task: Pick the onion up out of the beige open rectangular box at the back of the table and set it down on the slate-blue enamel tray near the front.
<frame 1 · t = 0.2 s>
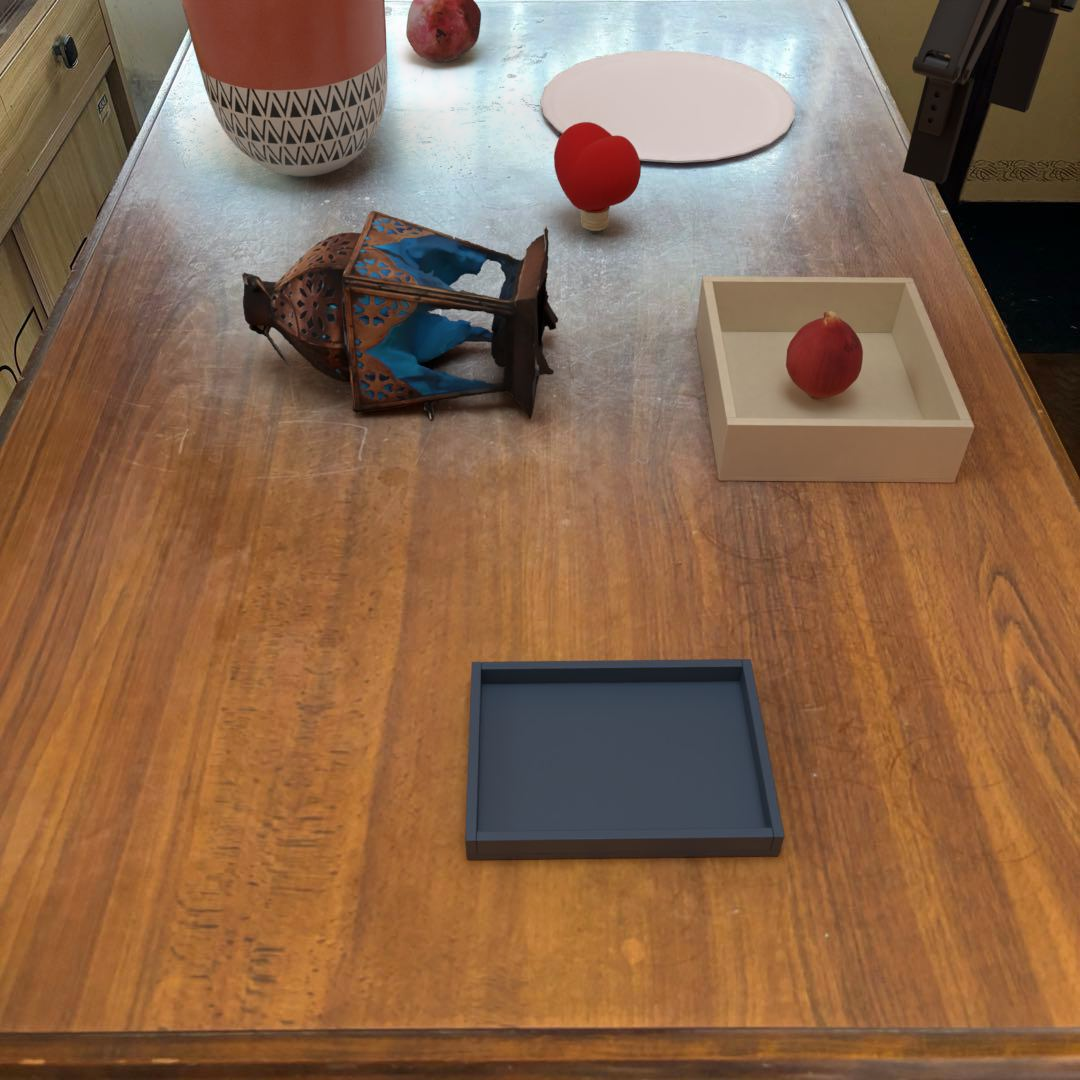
hand: (968, 139, 75), 21 cm above the table, tool pointing down, fingers open, 13 cm apart
tray: (616, 763, 65), on the table
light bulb: (594, 232, 108), on the table
planter: (310, 165, 118), on the table
beige open rectangular box: (814, 400, 89), on the table
lantern: (410, 374, 92), on the table
plate: (666, 111, 127), on the table
fruit: (445, 58, 138), on the table
onion: (815, 398, 89), resting on beige open rectangular box
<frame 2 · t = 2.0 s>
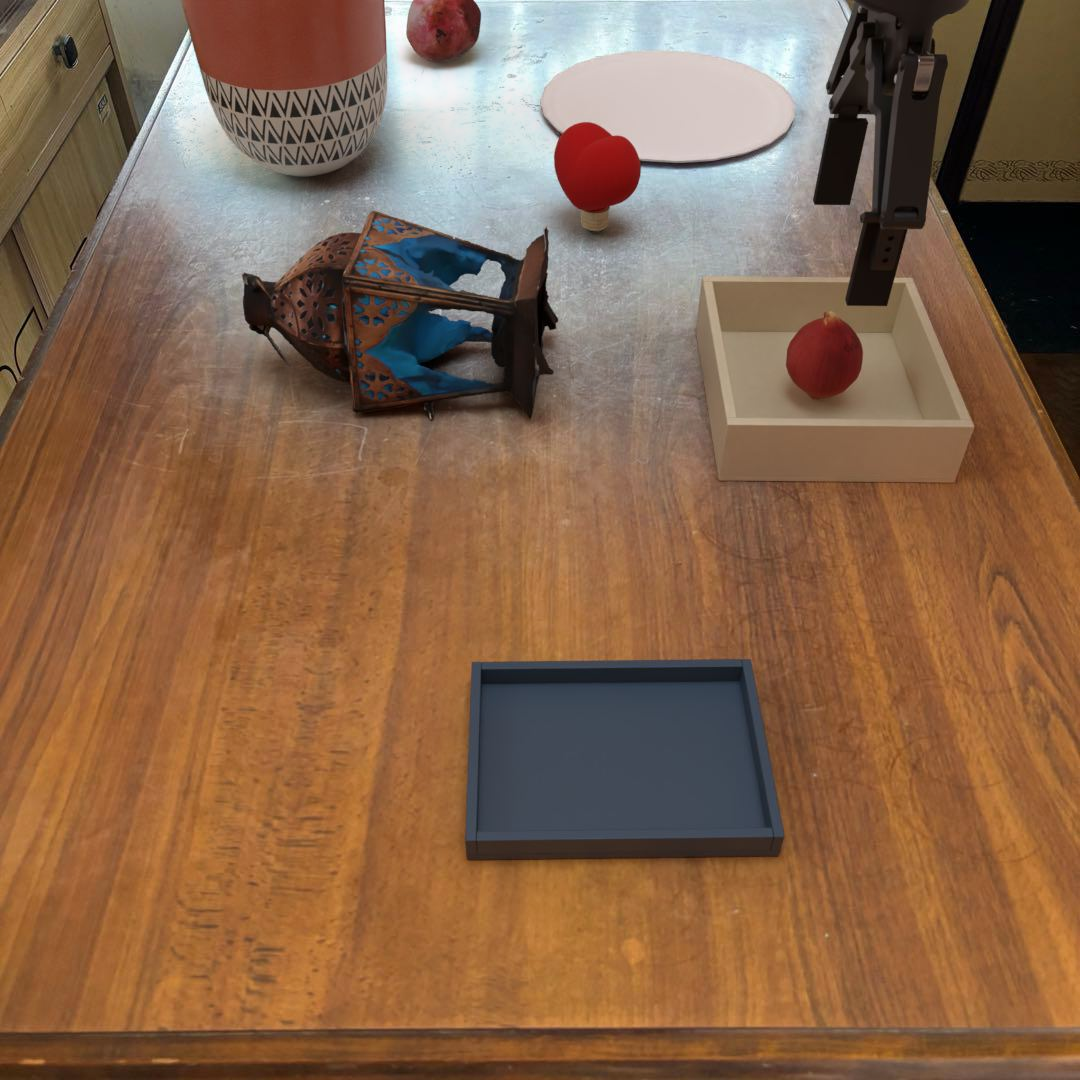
hand: (847, 250, 80), 14 cm above the table, tool pointing down, fingers open, 13 cm apart
nothing on the table moved.
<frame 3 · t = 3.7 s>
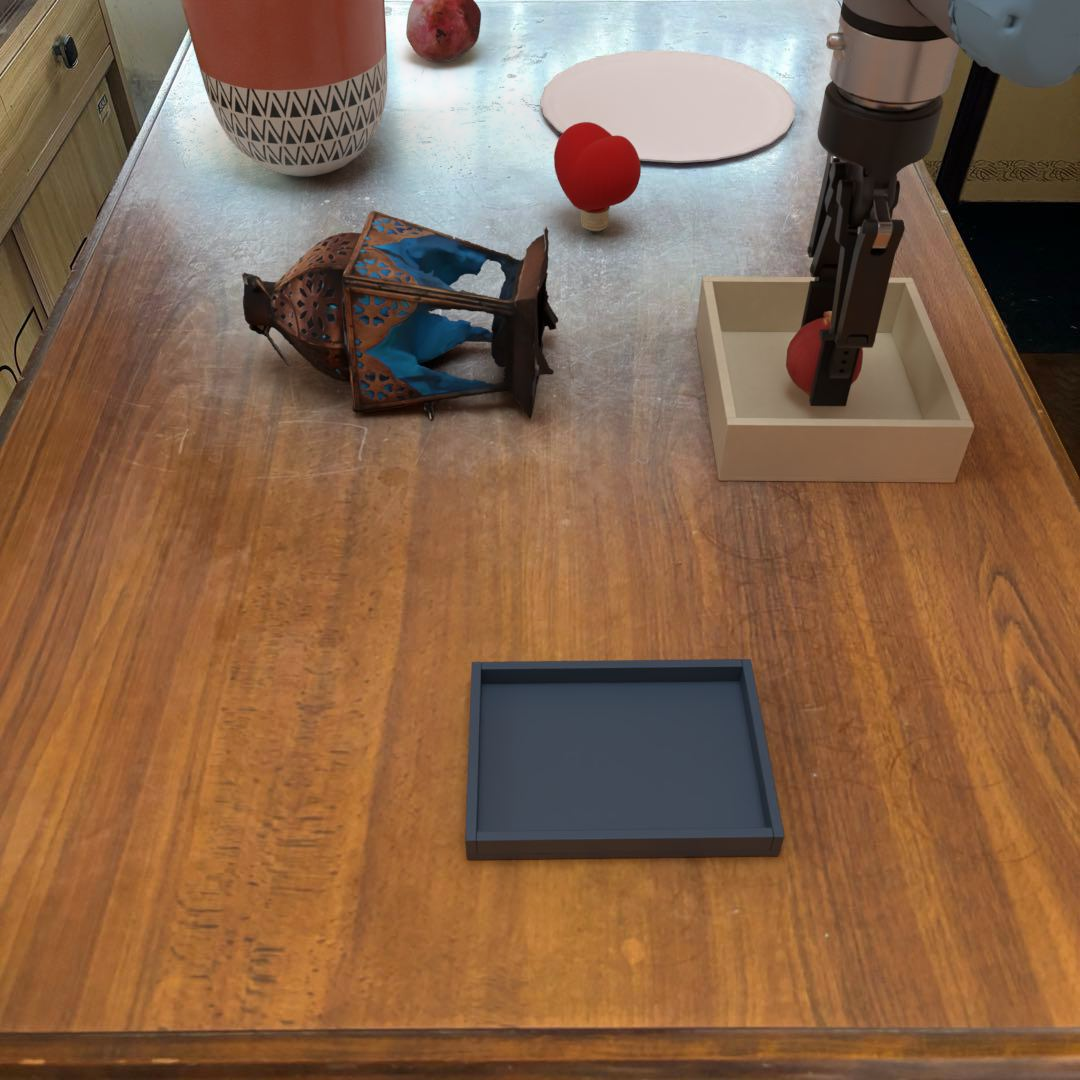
hand: (820, 376, 88), 2 cm above the table, tool pointing down, fingers closed on onion, 6 cm apart
onion: (815, 398, 89), resting on beige open rectangular box, touching gripper
everything else where it was.
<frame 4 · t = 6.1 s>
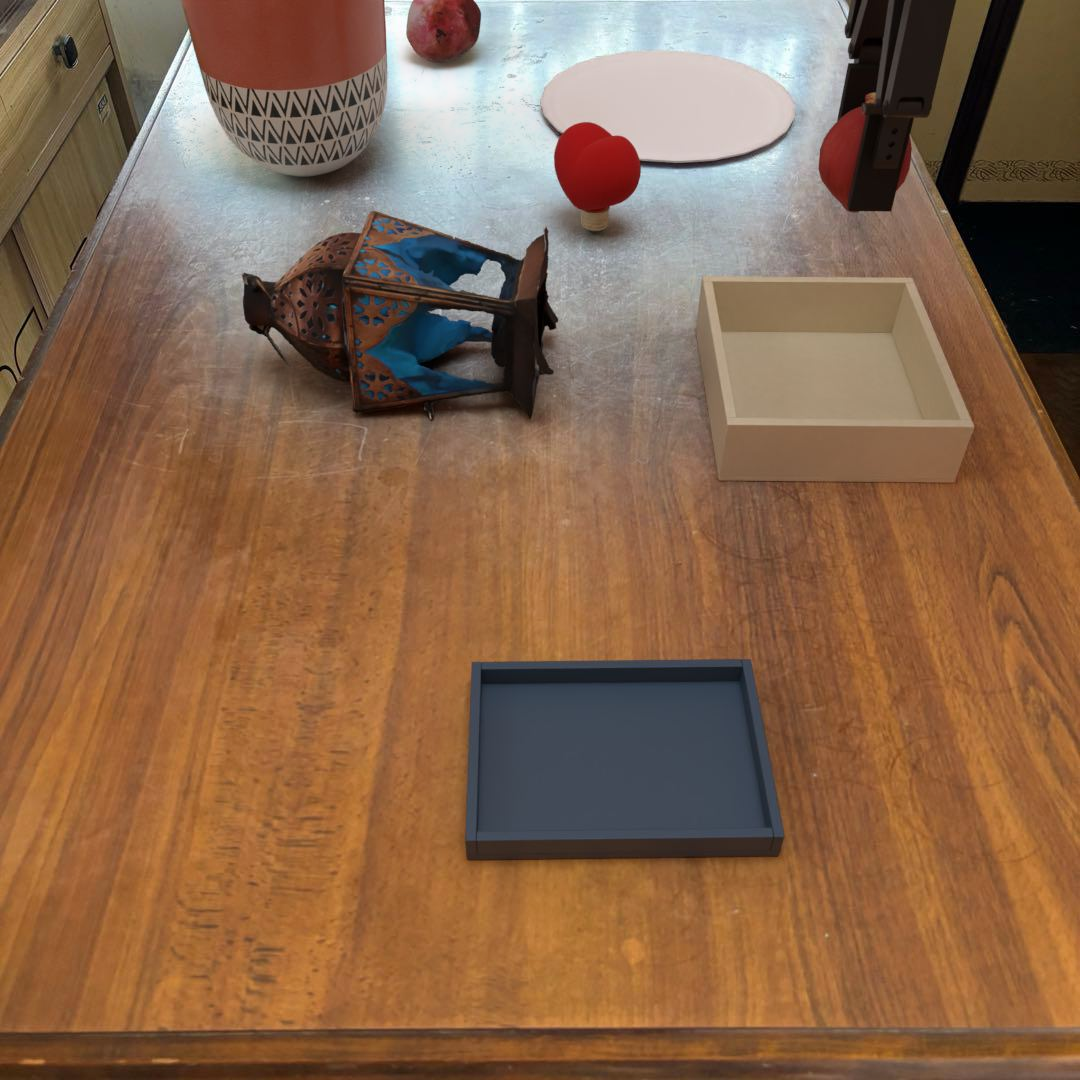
hand: (859, 183, 73), 20 cm above the table, tool pointing down, fingers closed on onion, 6 cm apart
onion: (852, 213, 75), point 18 cm above the table, touching gripper
everything else where it was.
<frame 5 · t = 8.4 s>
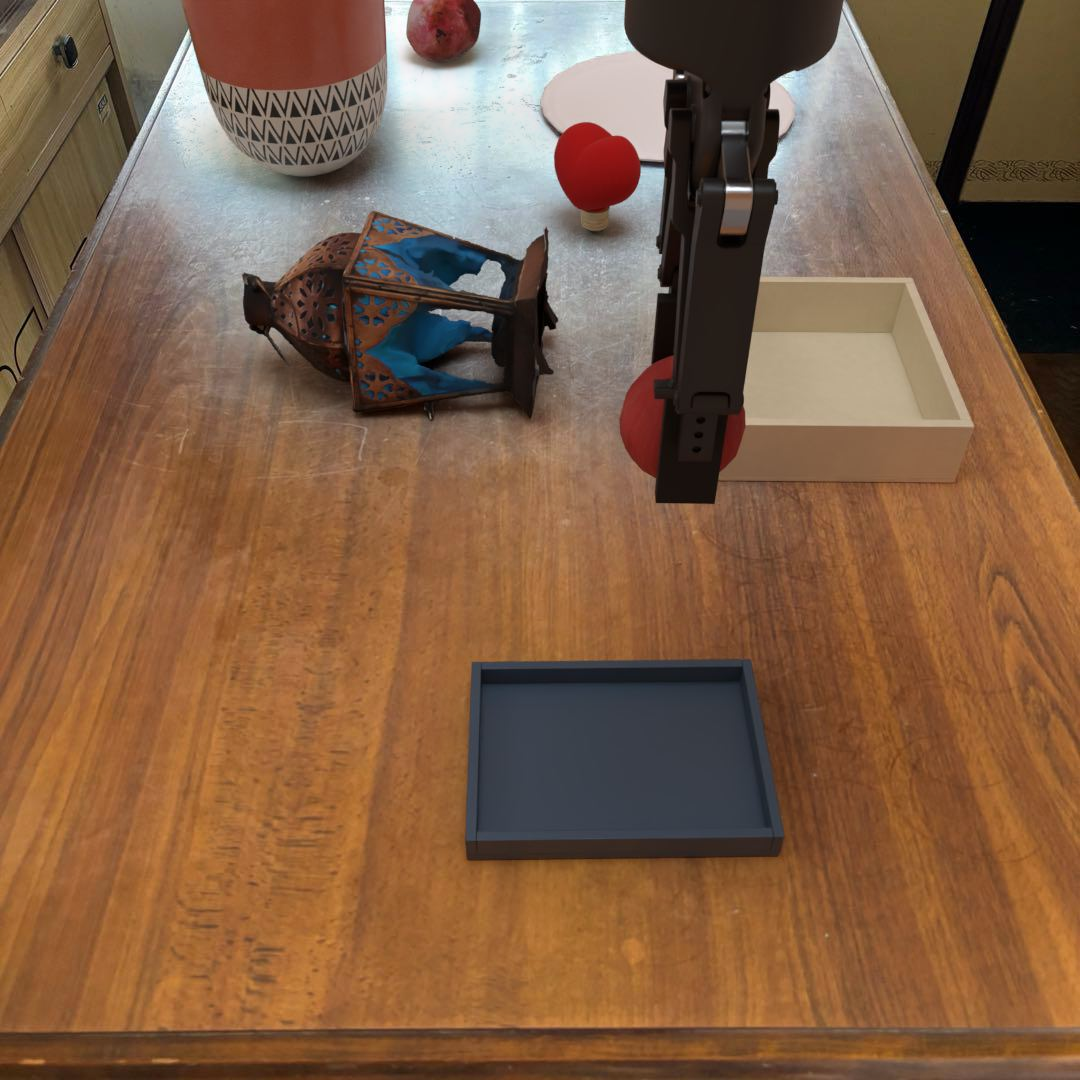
hand: (679, 450, 53), 21 cm above the table, tool pointing down, fingers closed on onion, 6 cm apart
onion: (675, 483, 55), point 19 cm above the table, touching gripper
everything else where it was.
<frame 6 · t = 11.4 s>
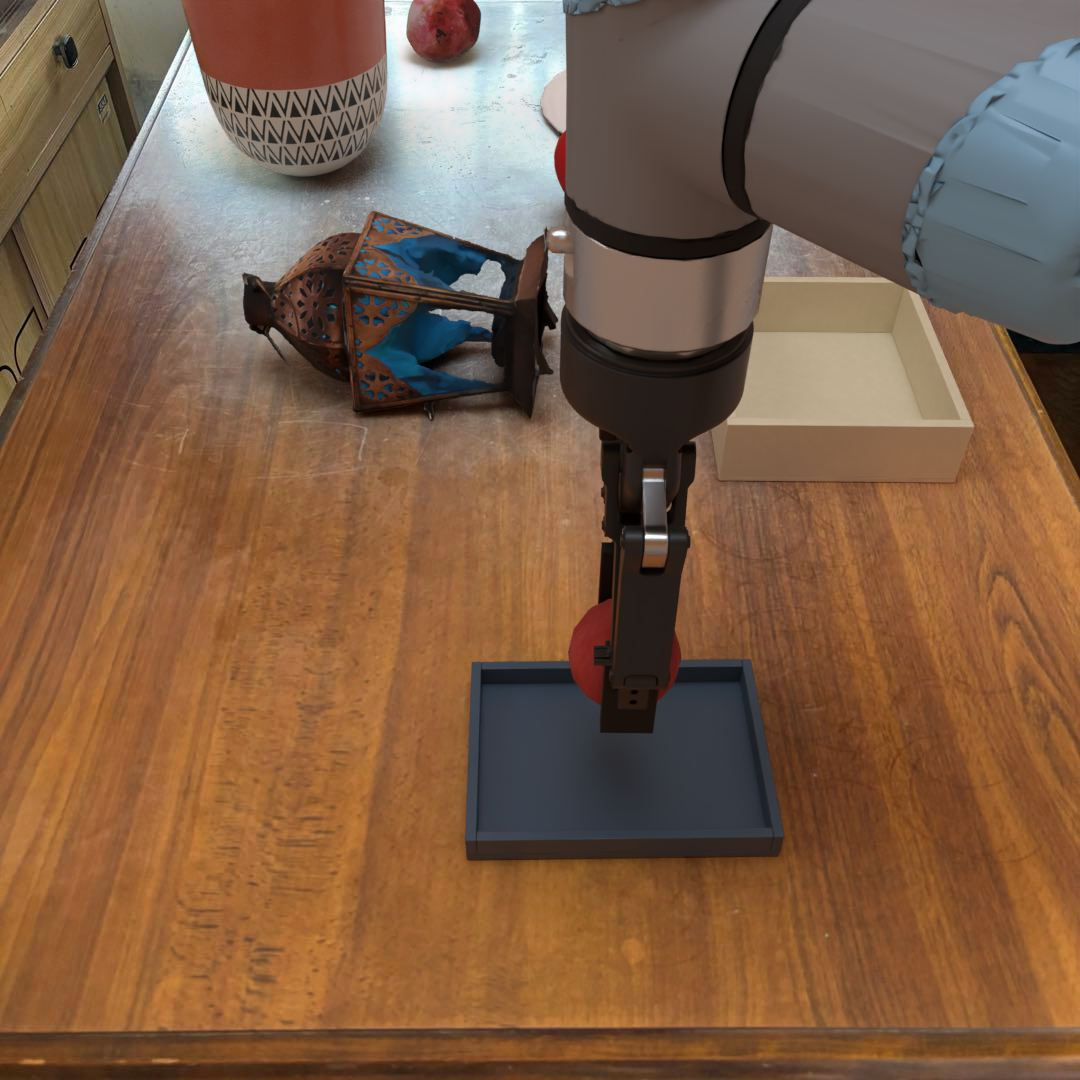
hand: (623, 675, 59), 8 cm above the table, tool pointing down, fingers closed on onion, 6 cm apart
onion: (620, 699, 61), point 6 cm above the table, touching gripper
everything else where it was.
when the fingers open (3 cm above the table, at t = 13.2 s): onion stays where it is, resting on tray.
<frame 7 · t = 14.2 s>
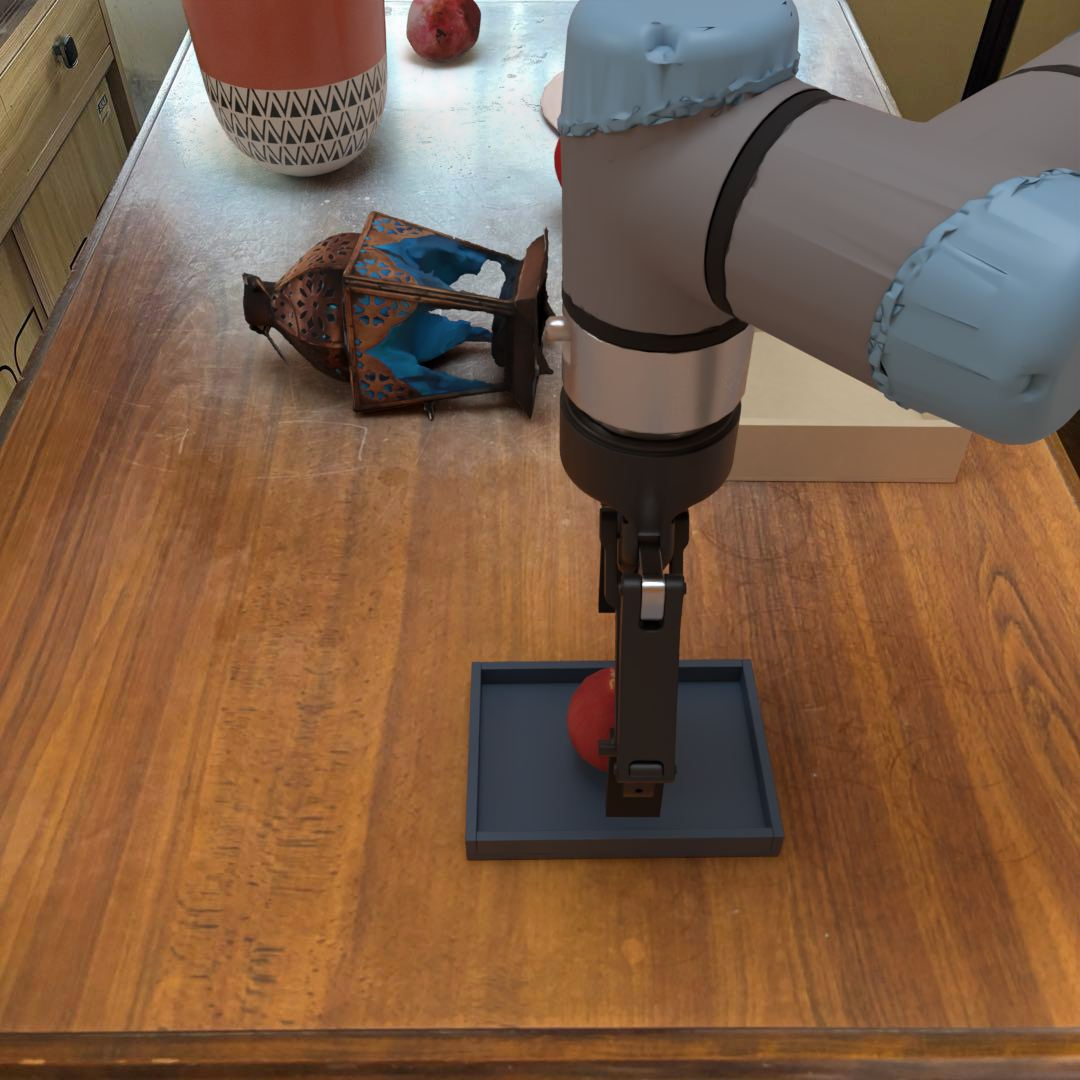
hand: (626, 701, 60), 6 cm above the table, tool pointing down, fingers open, 13 cm apart
onion: (615, 759, 65), resting on tray
everything else where it was.
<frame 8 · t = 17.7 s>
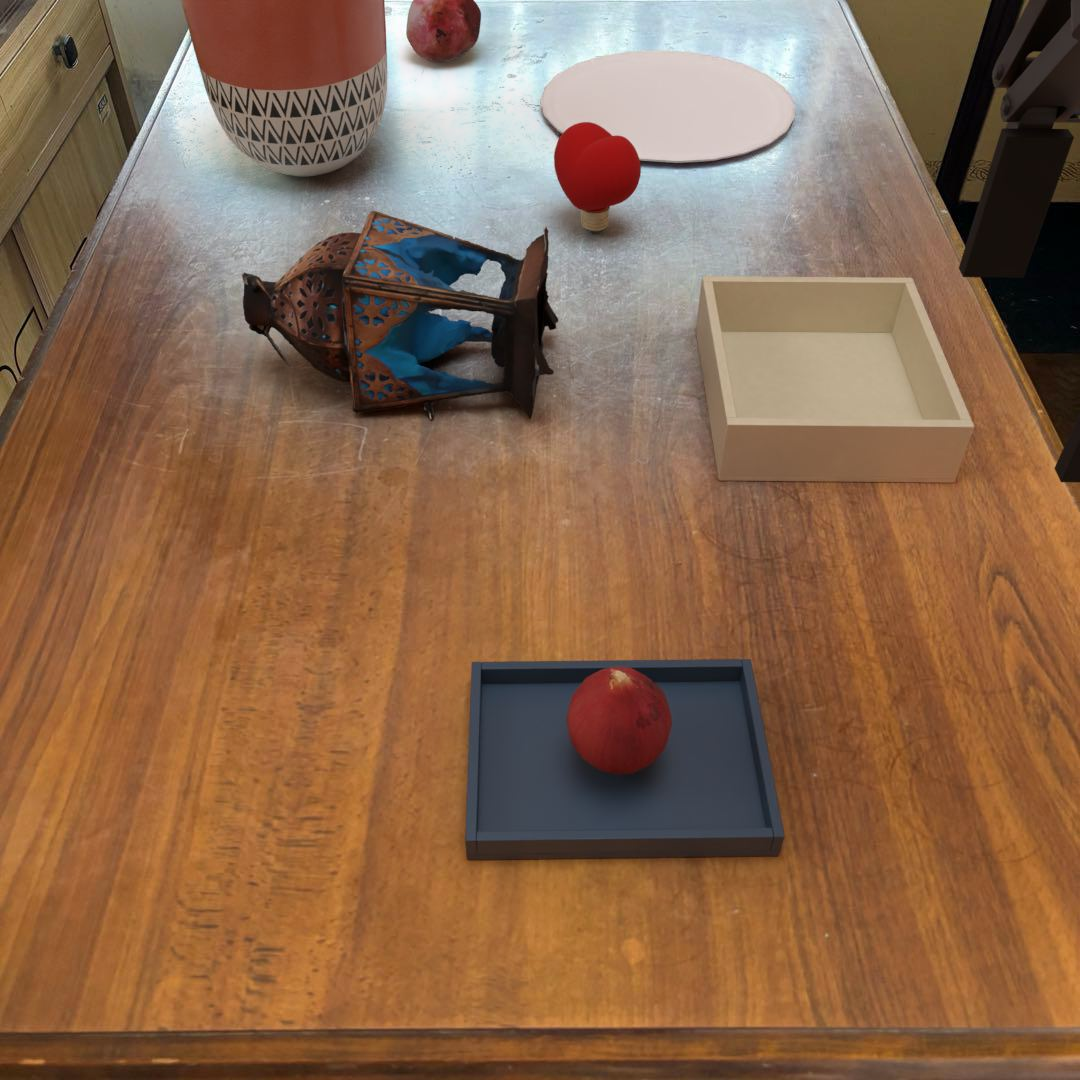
hand: (1037, 364, 45), 29 cm above the table, tool pointing down, fingers open, 13 cm apart
nothing on the table moved.
at the end: onion inside the target area in the tray (0.1 cm from its centre), point 0.4 cm above the tray's base; onion touching tray; the gripper is holding nothing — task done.
